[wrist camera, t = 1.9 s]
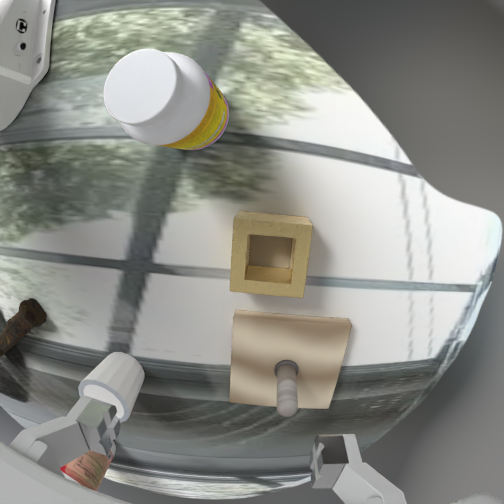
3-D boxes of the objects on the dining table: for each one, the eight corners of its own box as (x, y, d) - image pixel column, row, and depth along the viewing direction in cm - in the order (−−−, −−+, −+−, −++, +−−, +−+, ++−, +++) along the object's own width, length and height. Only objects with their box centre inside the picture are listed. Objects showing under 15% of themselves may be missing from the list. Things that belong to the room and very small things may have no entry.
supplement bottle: (244, 107, 26) (221, 64, 14) (202, 164, 28) (148, 165, 15) (189, 72, 25) (133, 19, 13) (149, 127, 27) (72, 109, 15)
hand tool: (35, 292, 34) (14, 306, 29) (50, 317, 35) (31, 332, 30) (-7, 334, 38) (-22, 346, 33) (6, 353, 39) (-9, 366, 34)
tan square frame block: (239, 211, 29) (233, 218, 25) (307, 217, 28) (312, 225, 25) (235, 275, 31) (229, 291, 27) (299, 281, 30) (303, 297, 26)
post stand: (235, 309, 32) (222, 356, 23) (348, 318, 31) (368, 365, 23) (230, 394, 35) (220, 445, 27) (326, 400, 34) (335, 451, 26)
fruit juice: (111, 458, 43) (58, 569, 16) (69, 432, 42) (4, 535, 15) (123, 440, 40) (61, 570, 14) (75, 409, 40) (-4, 528, 13)
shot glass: (106, 338, 34) (79, 369, 28) (154, 363, 35) (133, 399, 28) (100, 373, 36) (76, 404, 30) (143, 396, 37) (125, 431, 30)
